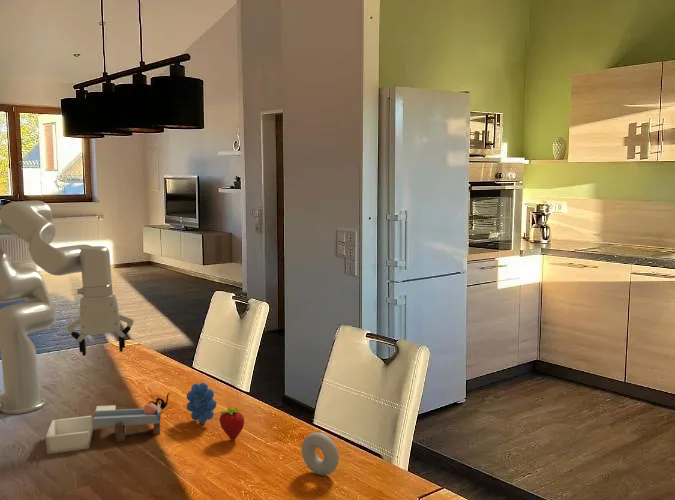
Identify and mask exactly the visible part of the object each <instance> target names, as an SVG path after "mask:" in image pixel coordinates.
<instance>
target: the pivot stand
mask: <svg viewBox="0 0 675 500" xmlns="http://www.w3.org/2000/svg"><path fill="white" fill-rule="evenodd" d="M125 432H127V430H126V425H123V423H117V424H115V426H114V440H115V442H116V443H120V442H124V441H125V440H126V433H125Z"/></svg>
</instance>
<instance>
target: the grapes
mask: <svg viewBox="0 0 675 500" xmlns="http://www.w3.org/2000/svg"><path fill="white" fill-rule="evenodd" d="M214 396H215V392H214V390H213V389H212V388H209V386H208V384H207V383H206V382H201V383H196V382H195V383H193V384H192V386H191V389H190V390H189V391H188V392H187V394H186V399H187V401H188V402H187V404H186V411H187V410H188V411H189V412H191V414H190V417H191V419H192V420H194V421H198V422H199V424H202V425H203V424H205V423H206V422H207V421H209V420H212V419H213V418H214V415H215V413H214V410H215V409H216V408H217V402H216V399H214Z"/></svg>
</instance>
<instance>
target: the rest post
mask: <svg viewBox="0 0 675 500" xmlns="http://www.w3.org/2000/svg"><path fill="white" fill-rule="evenodd" d="M153 435H154V436H155V435H161V422H160V423H158V424H153Z"/></svg>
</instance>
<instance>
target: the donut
mask: <svg viewBox="0 0 675 500" xmlns="http://www.w3.org/2000/svg"><path fill="white" fill-rule="evenodd" d="M317 449H320V451H321V452H322V454H323V459H321V458H320V457H319V456H318V453H317ZM301 455H302V458H303V461H304V464H305V465H306V466H307V468H308V469H309V470H310V471H311V472H312V473H314V474H316V475H319V476H329V475H331V474H332V473H334V471H336V469H337V467H338V464H339V459H340V458H339V457H340V455H339V451H338V448H337V446H336V444H335V442H334V440H333V439H332V438H330V437H329V436H328V435H327V434H325V433H323V432H319V431H317V432H312V433H309V434H308V435H307V436H306V437H305V438H304V439H303V442H302V444H301Z"/></svg>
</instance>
